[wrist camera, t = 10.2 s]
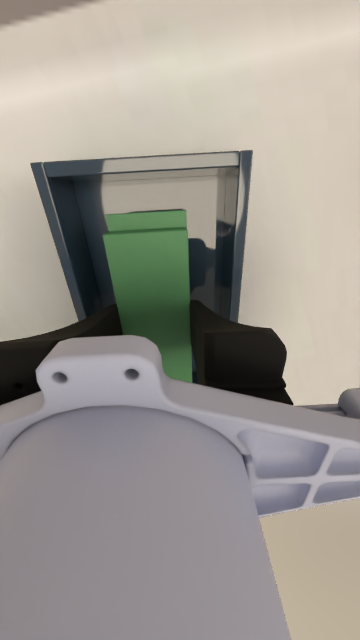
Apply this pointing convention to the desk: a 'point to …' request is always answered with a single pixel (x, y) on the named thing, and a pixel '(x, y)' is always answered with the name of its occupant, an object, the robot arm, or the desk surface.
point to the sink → (150, 196)
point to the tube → (153, 282)
